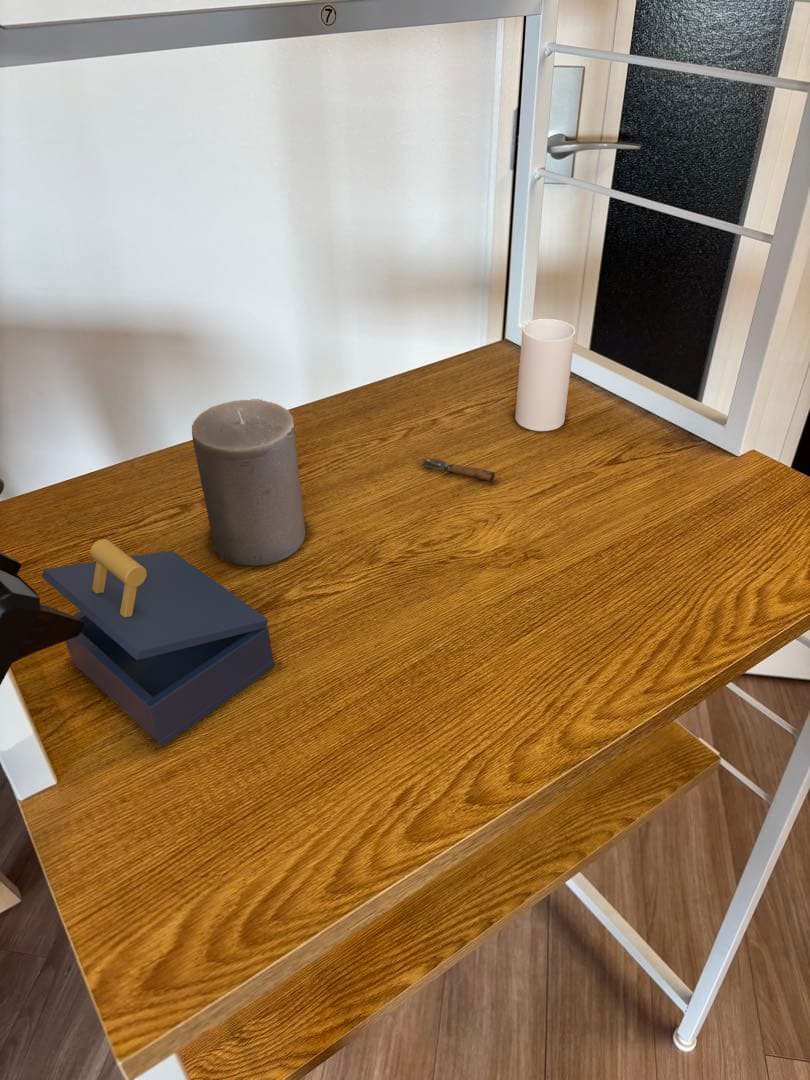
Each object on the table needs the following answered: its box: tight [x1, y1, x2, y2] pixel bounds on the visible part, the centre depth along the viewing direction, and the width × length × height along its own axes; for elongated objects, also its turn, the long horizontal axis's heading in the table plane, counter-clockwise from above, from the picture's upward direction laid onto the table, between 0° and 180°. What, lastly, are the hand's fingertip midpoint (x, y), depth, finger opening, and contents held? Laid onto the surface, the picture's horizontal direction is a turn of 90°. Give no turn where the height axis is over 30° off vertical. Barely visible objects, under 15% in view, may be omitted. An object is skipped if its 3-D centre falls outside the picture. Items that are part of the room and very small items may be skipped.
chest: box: [64, 610, 275, 748], centre depth 71 cm, size 12×14×5 cm
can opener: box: [421, 458, 496, 482], centre depth 95 cm, size 9×2×1 cm, turn 61°
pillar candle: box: [191, 398, 306, 567], centre depth 82 cm, size 10×10×15 cm
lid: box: [41, 538, 269, 660], centre depth 67 cm, size 12×14×5 cm
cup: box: [514, 318, 576, 432], centre depth 101 cm, size 6×6×12 cm
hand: (48, 597), depth 60 cm, fingers open, 9 cm apart
